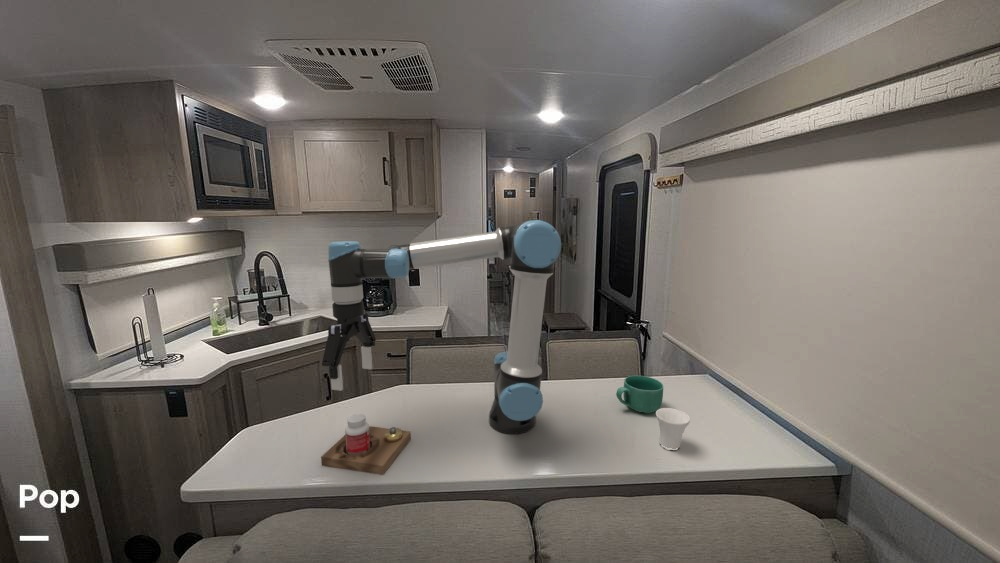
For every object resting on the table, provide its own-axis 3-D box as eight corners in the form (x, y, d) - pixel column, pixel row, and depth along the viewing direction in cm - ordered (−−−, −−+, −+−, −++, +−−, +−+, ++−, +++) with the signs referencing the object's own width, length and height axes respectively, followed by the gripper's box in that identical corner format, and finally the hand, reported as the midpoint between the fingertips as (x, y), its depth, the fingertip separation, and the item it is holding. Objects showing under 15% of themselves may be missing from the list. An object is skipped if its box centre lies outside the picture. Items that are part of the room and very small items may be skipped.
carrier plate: (410, 439, 110) (410, 431, 109) (383, 474, 94) (382, 465, 94) (356, 432, 113) (356, 424, 113) (321, 465, 98) (321, 456, 97)
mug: (647, 398, 135) (649, 373, 134) (669, 415, 123) (671, 388, 122) (606, 402, 132) (607, 377, 130) (624, 420, 120) (626, 393, 118)
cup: (646, 442, 108) (648, 410, 107) (669, 434, 112) (671, 404, 110) (670, 459, 100) (673, 425, 98) (694, 451, 104) (697, 418, 102)
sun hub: (405, 433, 108) (404, 425, 108) (397, 443, 103) (396, 434, 103) (389, 431, 109) (389, 423, 109) (380, 441, 104) (380, 432, 104)
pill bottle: (373, 456, 101) (370, 419, 100) (349, 464, 98) (347, 426, 96) (367, 445, 107) (365, 409, 105) (344, 452, 103) (342, 416, 101)
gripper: (362, 291, 108) (366, 360, 111) (300, 311, 84) (308, 398, 87) (385, 292, 106) (389, 362, 110) (329, 313, 82) (336, 401, 86)
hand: (353, 378), depth 99 cm, fingers open, 13 cm apart
